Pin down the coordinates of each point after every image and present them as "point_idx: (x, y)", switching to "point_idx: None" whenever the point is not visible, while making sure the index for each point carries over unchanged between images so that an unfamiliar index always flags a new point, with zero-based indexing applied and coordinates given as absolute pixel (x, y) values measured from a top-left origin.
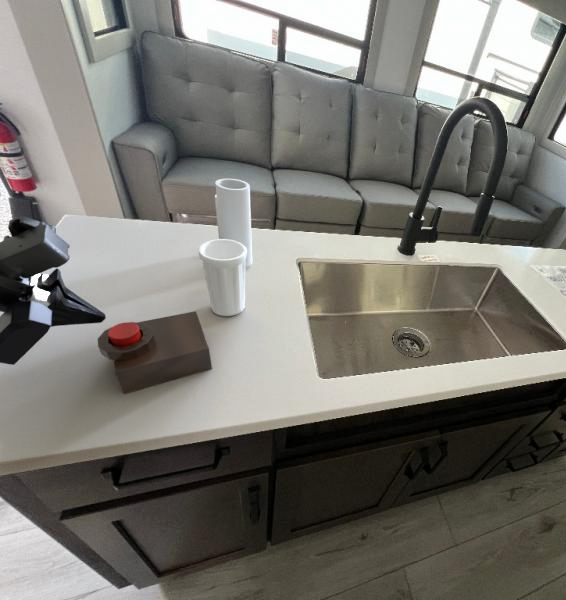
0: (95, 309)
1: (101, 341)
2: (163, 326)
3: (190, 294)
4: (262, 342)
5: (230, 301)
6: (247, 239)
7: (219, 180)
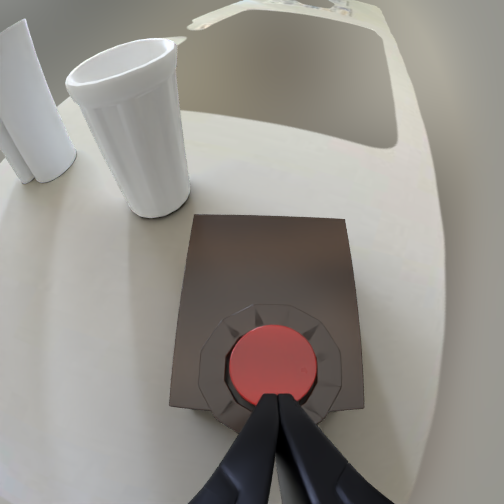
0: (267, 419)
1: None
2: (223, 288)
3: (81, 244)
4: (287, 174)
5: (183, 162)
6: (54, 104)
7: None
